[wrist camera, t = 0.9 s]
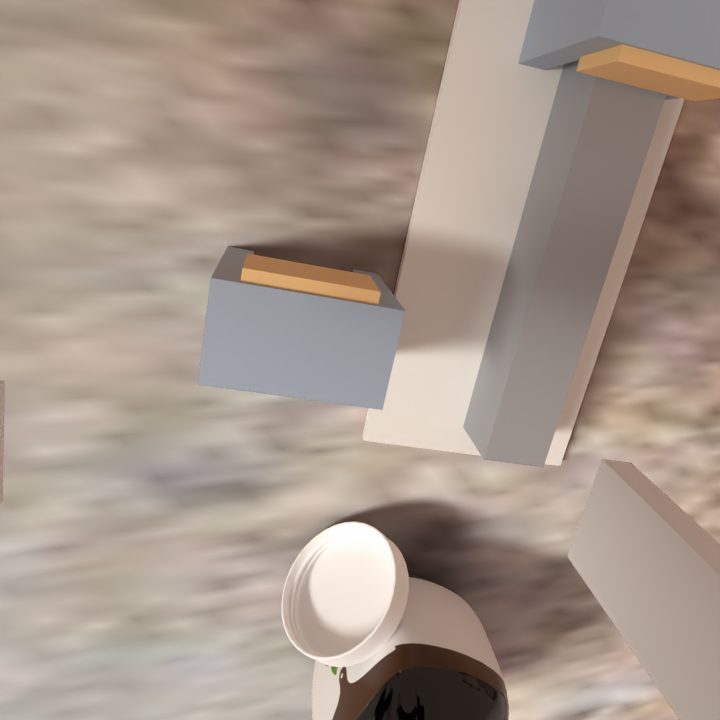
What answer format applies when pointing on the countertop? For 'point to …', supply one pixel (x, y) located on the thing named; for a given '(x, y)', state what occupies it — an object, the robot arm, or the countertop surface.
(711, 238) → the countertop surface
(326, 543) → the spread jar
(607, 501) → the robot arm
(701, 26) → the fitted finger
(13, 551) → the countertop surface
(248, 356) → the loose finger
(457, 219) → the rail board
